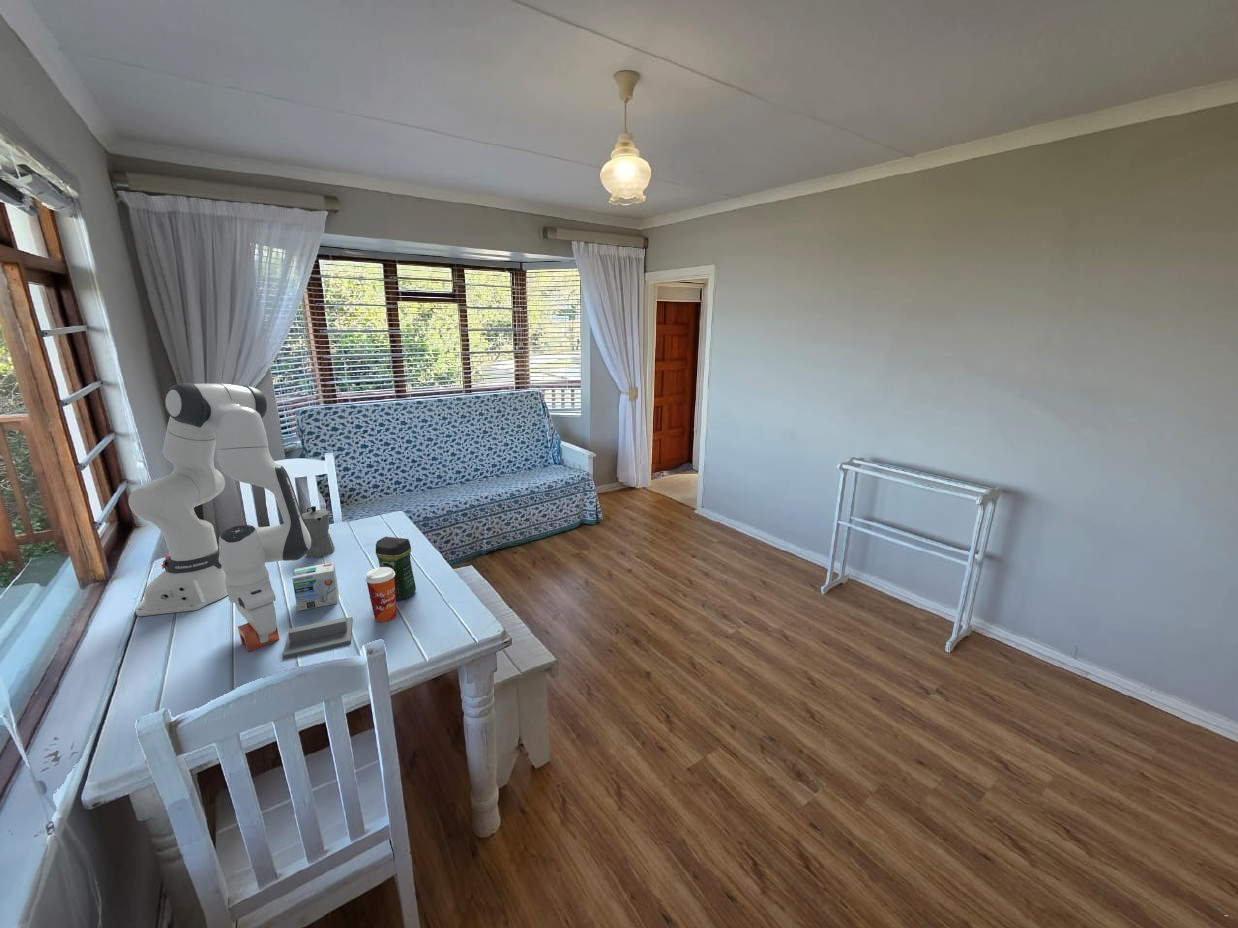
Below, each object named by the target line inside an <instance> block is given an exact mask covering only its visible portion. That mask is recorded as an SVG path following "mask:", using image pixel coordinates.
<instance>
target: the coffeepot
mask: <svg viewBox="0 0 1238 928" xmlns="http://www.w3.org/2000/svg"><path fill="white" fill-rule="evenodd" d="M301 514H302V517H303V520H304V522H305V525H306V527H307V529H308V532H309V534H310V537H311V548H310V550H309V551H308V552H307V554H305V555H306V557H308V558H313V559H314V558H317V559H318V558H322V557H327V556H329V555H331V554H333V553H334V552H335V549H336V547H335V545H334V543H333V540H332V536H331V535H330V533H329V529H330V511H329V510H326V509H317V506H316V505H313V506H312V505H311V506H310V507H307V508H306V512H303V513H301Z"/></svg>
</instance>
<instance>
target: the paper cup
mask: <svg viewBox="0 0 1238 928" xmlns="http://www.w3.org/2000/svg"><path fill="white" fill-rule="evenodd" d="M394 576H395V572H394V571H393V569H392V568H389V567H380V566H379V567H375V568H373V569H370V570H369V571H368V572H367V573H366V574H365V578H364V582H366V585H367V590H368V594H369V599H370V603H371V609H372V612H373V613H372V614H373V616H374V620H375V622H378V623H385V622H388V621H391V620H394V619H395V618H396V615H397V608H396V607H397V601H396V600H397V599H395V582H394Z"/></svg>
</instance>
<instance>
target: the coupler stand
mask: <svg viewBox="0 0 1238 928" xmlns="http://www.w3.org/2000/svg"><path fill="white" fill-rule="evenodd" d="M353 622H354V619H353V616H350V617H340V618H335V619H330V620H326V621H325V620H324V621H320V622H316V623H312V624H307V625H302V626H296V627H291V628H289V629H288V633H287V639H286V642H285V646H284V649H283V653H282V659H283V660H285V659H289V658H293V657H297V656H301V655H307V654H310V653H317V652H320V651H323V650H329V649H332V648H337V647H342V646H345V645H351V644H352V634H353V633H352V632H353Z"/></svg>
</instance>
